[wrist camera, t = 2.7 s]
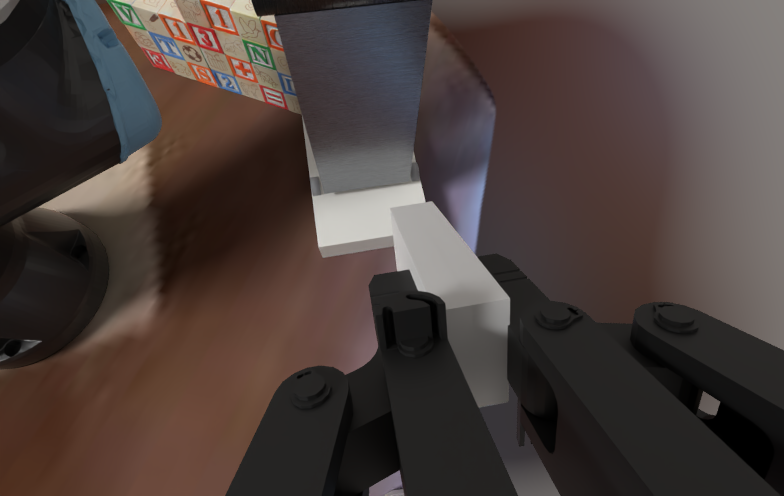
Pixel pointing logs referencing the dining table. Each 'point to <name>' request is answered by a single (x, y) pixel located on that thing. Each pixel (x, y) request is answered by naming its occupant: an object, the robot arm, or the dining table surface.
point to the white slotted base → (358, 211)
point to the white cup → (395, 493)
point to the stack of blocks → (213, 45)
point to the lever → (356, 83)
